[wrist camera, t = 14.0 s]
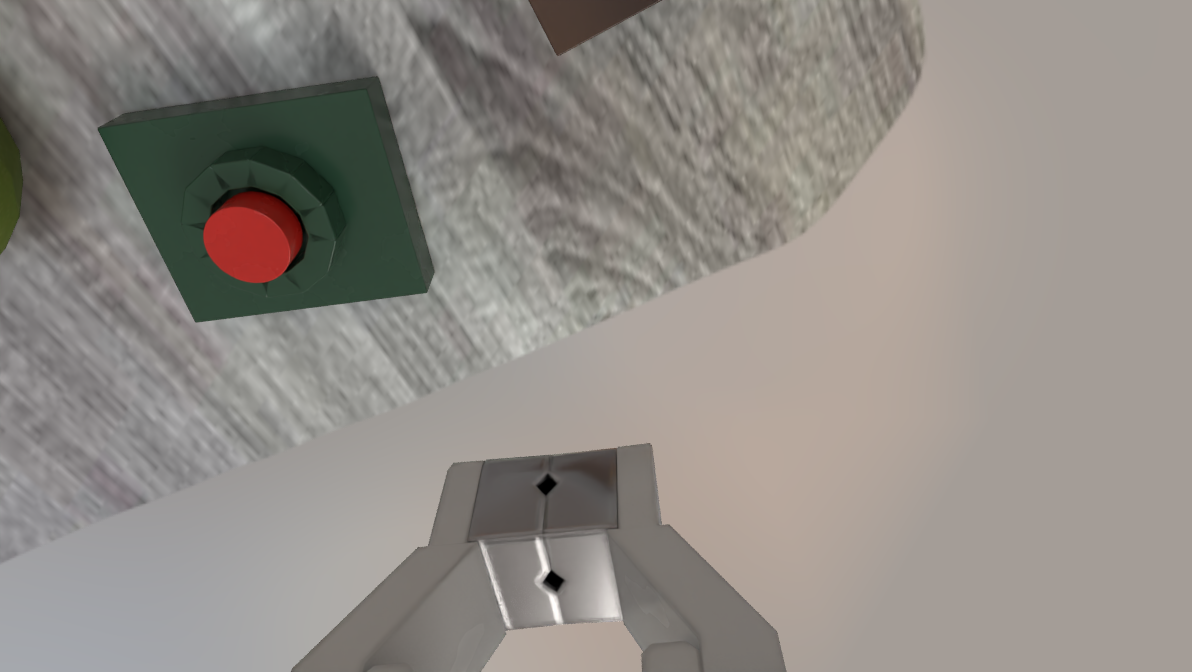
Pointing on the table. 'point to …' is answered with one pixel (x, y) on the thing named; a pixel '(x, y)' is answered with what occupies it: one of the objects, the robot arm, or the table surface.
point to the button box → (278, 194)
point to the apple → (9, 185)
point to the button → (253, 237)
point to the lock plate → (582, 18)
